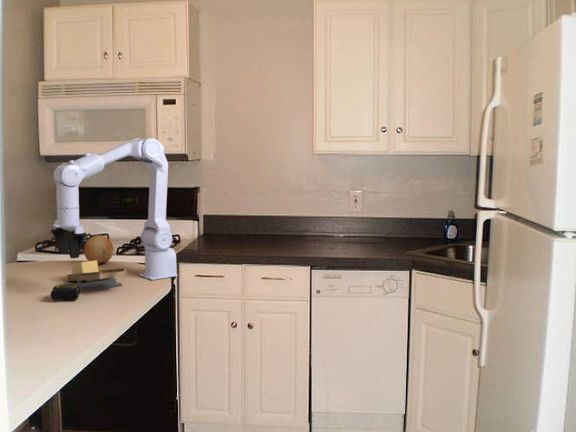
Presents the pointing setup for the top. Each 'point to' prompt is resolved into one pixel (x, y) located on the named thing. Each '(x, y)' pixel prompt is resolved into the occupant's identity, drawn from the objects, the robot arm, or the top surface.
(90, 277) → the beam
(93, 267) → the block
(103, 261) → the onion
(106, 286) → the pivot stand
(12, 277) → the top surface
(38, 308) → the top surface
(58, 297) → the tape measure
